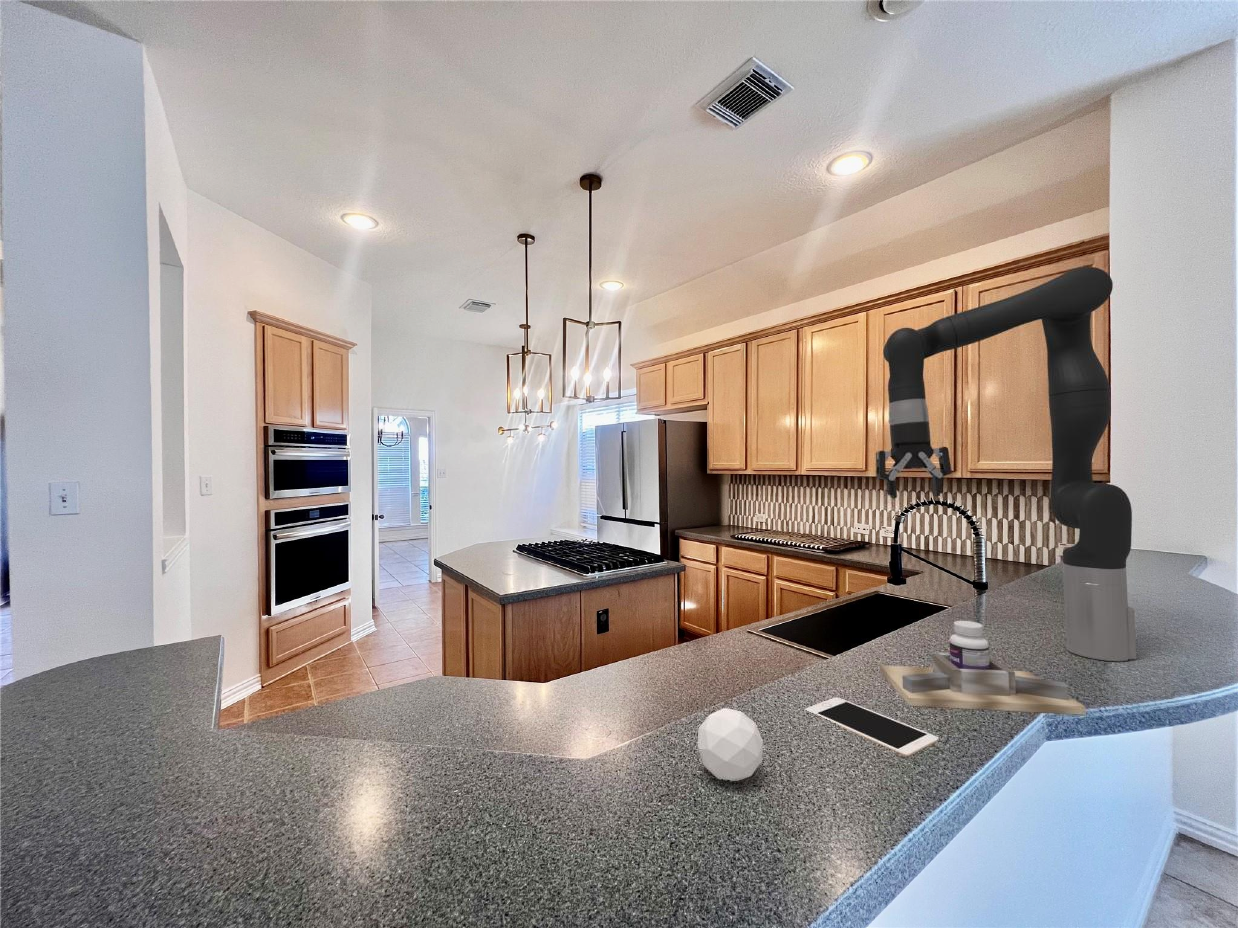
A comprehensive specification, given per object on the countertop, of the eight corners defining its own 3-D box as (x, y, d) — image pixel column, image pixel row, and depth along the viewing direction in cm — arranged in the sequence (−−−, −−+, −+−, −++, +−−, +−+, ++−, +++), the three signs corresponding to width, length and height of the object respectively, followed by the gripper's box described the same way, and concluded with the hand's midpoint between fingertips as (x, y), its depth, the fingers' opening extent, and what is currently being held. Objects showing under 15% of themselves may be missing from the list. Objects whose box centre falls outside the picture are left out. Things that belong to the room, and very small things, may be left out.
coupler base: (1028, 678, 91) (1027, 651, 91) (1085, 714, 77) (1084, 682, 77) (880, 672, 95) (879, 646, 95) (909, 705, 81) (908, 674, 81)
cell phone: (836, 700, 84) (836, 696, 85) (940, 742, 71) (940, 737, 71) (804, 712, 80) (803, 708, 80) (907, 759, 67) (907, 754, 67)
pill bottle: (947, 675, 90) (945, 618, 90) (985, 679, 88) (983, 620, 88) (954, 687, 85) (952, 626, 85) (994, 691, 83) (992, 629, 83)
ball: (733, 788, 65) (754, 723, 69) (761, 801, 58) (783, 728, 61) (679, 758, 65) (702, 695, 69) (700, 767, 58) (725, 697, 62)
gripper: (879, 422, 111) (885, 499, 110) (952, 417, 109) (959, 495, 108) (868, 426, 119) (874, 498, 118) (937, 421, 116) (943, 494, 115)
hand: (915, 496), depth 113 cm, fingers open, 8 cm apart
